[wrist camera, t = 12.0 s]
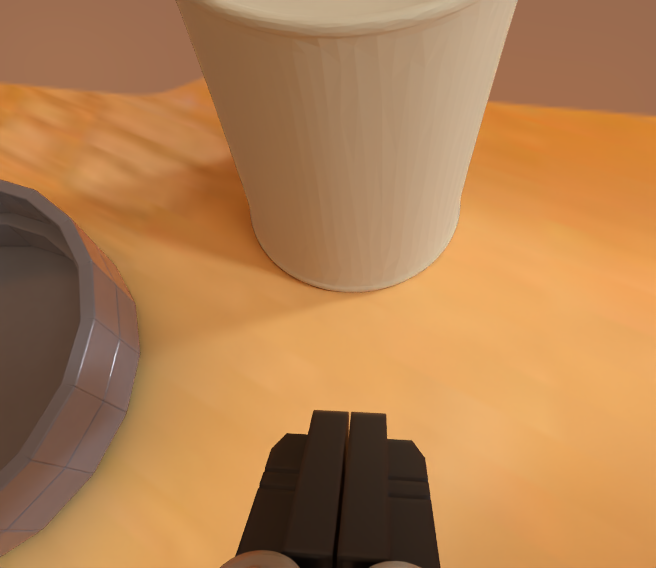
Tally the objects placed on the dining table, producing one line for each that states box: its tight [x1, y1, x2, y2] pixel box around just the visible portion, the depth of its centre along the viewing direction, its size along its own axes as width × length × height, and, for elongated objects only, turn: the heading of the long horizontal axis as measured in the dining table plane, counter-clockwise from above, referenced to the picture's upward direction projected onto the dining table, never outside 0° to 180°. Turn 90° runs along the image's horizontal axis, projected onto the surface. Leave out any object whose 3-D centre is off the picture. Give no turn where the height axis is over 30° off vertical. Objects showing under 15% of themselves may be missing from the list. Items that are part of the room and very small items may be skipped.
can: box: [176, 0, 517, 292], centre depth 16 cm, size 9×9×12 cm
